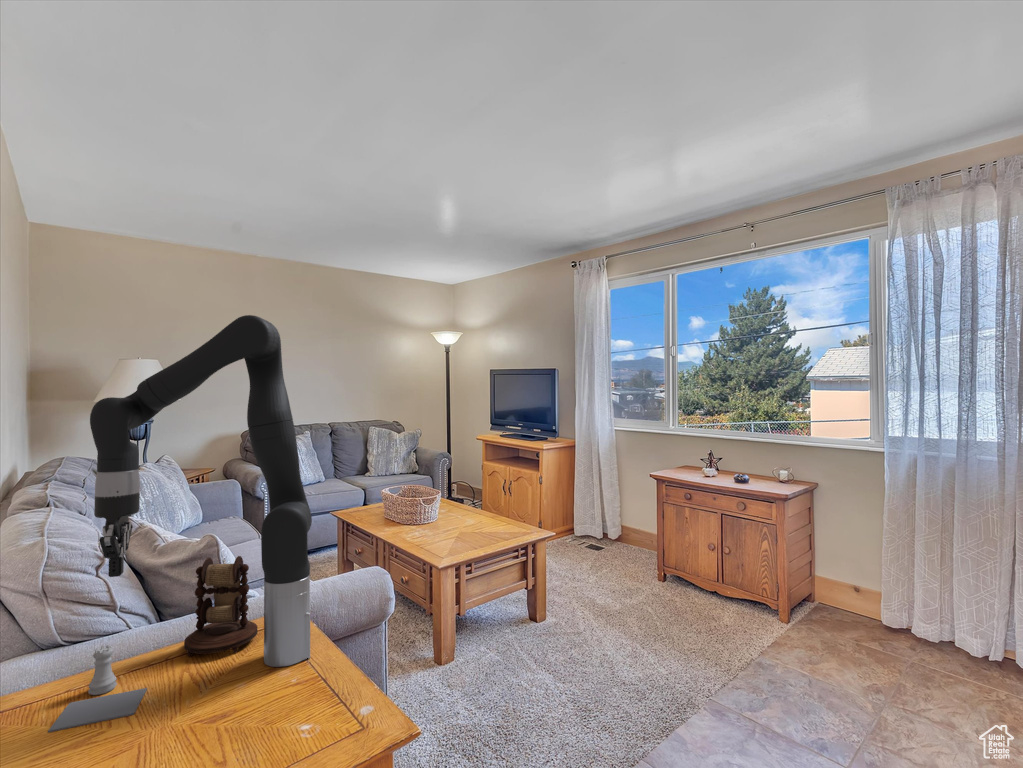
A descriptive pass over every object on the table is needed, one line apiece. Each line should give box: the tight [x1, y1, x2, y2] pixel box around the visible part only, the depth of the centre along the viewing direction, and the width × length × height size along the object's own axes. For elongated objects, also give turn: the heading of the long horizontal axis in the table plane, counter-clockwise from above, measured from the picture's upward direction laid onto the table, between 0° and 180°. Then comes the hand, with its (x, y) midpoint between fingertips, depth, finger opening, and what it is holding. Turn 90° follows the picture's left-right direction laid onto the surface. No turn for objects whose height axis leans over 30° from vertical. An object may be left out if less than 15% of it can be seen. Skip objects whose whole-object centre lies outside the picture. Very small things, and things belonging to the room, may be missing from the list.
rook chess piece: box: [87, 644, 118, 696], centre depth 100 cm, size 4×4×8 cm
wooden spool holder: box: [183, 555, 258, 657], centre depth 119 cm, size 15×15×20 cm
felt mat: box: [47, 687, 148, 733], centre depth 93 cm, size 12×9×1 cm
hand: (116, 575), depth 107 cm, fingers closed
